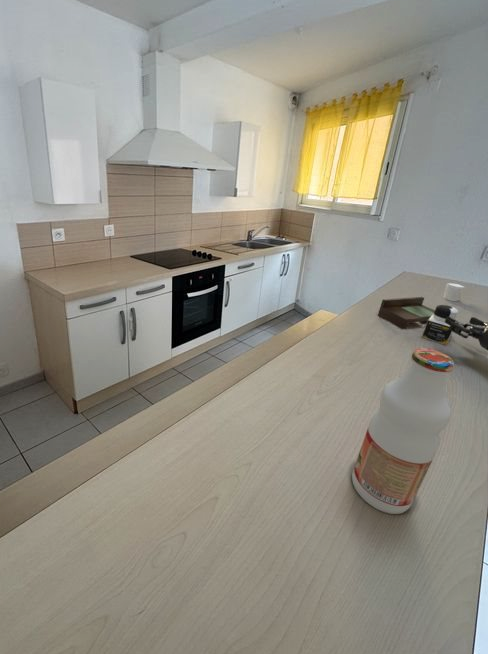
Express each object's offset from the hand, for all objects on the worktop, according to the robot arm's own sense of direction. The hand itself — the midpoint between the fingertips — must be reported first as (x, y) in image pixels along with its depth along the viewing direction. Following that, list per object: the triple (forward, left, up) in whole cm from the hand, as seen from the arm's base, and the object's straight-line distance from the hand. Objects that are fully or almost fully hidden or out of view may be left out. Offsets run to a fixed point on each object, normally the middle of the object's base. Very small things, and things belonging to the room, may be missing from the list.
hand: (458, 319), depth 105 cm
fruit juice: (+66, +39, -10) cm, 77 cm away
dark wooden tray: (-5, -19, -10) cm, 22 cm away
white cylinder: (-47, -35, -10) cm, 60 cm away
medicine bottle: (-1, -5, -10) cm, 11 cm away
